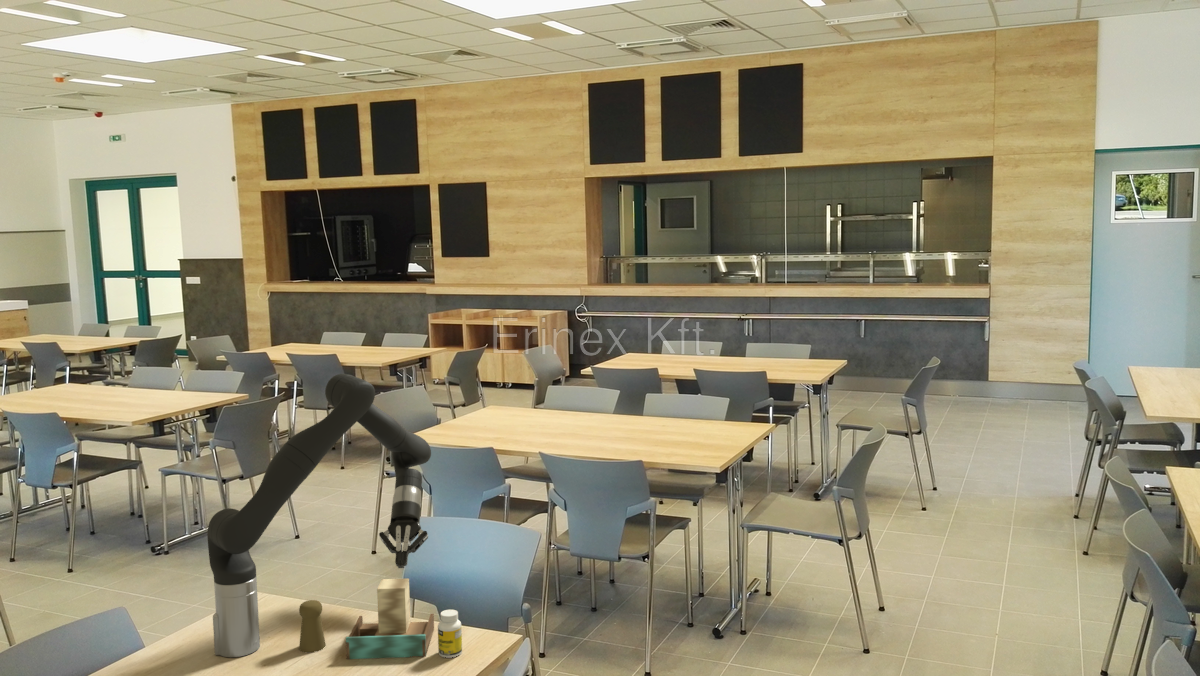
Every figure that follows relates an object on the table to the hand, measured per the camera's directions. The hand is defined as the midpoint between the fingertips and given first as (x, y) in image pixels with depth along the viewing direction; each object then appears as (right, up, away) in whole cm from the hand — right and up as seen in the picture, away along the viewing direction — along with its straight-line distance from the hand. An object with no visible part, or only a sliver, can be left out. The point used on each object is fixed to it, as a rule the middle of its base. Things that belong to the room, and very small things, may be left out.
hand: (400, 566), depth 238 cm
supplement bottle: (+16, -15, -21) cm, 31 cm away
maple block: (+1, -12, -11) cm, 17 cm away
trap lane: (+1, -14, -16) cm, 21 cm away
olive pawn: (-17, -15, -17) cm, 28 cm away
